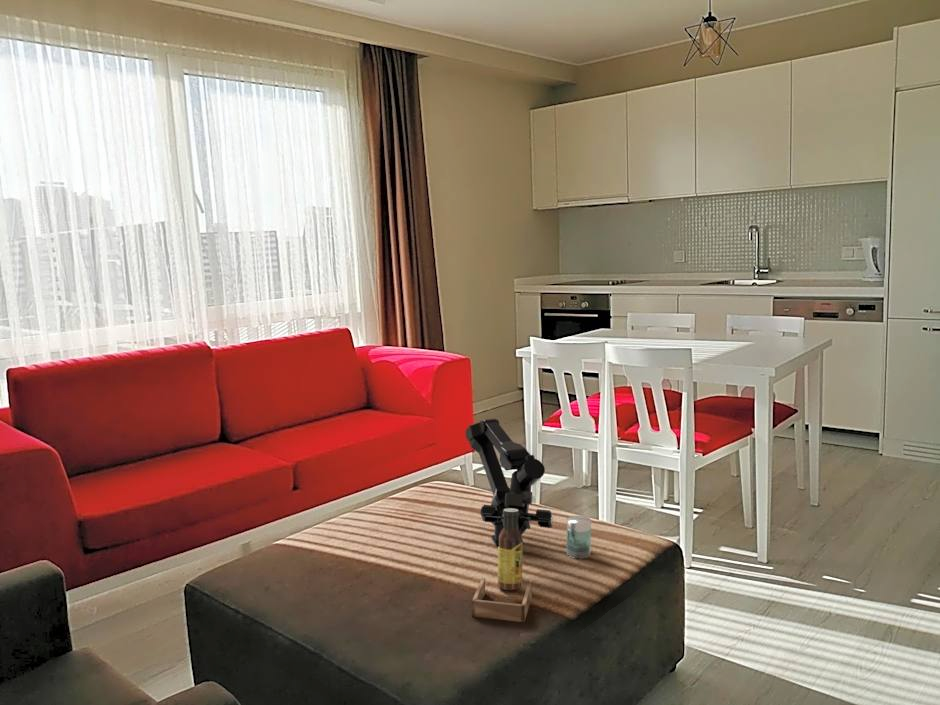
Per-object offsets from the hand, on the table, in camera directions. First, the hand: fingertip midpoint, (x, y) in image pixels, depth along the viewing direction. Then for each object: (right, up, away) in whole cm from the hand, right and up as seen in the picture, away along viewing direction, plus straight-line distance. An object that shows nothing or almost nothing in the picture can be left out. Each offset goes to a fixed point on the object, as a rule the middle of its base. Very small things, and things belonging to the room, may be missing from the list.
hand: (512, 547), depth 205 cm
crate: (-3, -11, -13) cm, 17 cm away
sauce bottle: (-1, -9, -4) cm, 10 cm away
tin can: (+19, -6, +16) cm, 25 cm away
